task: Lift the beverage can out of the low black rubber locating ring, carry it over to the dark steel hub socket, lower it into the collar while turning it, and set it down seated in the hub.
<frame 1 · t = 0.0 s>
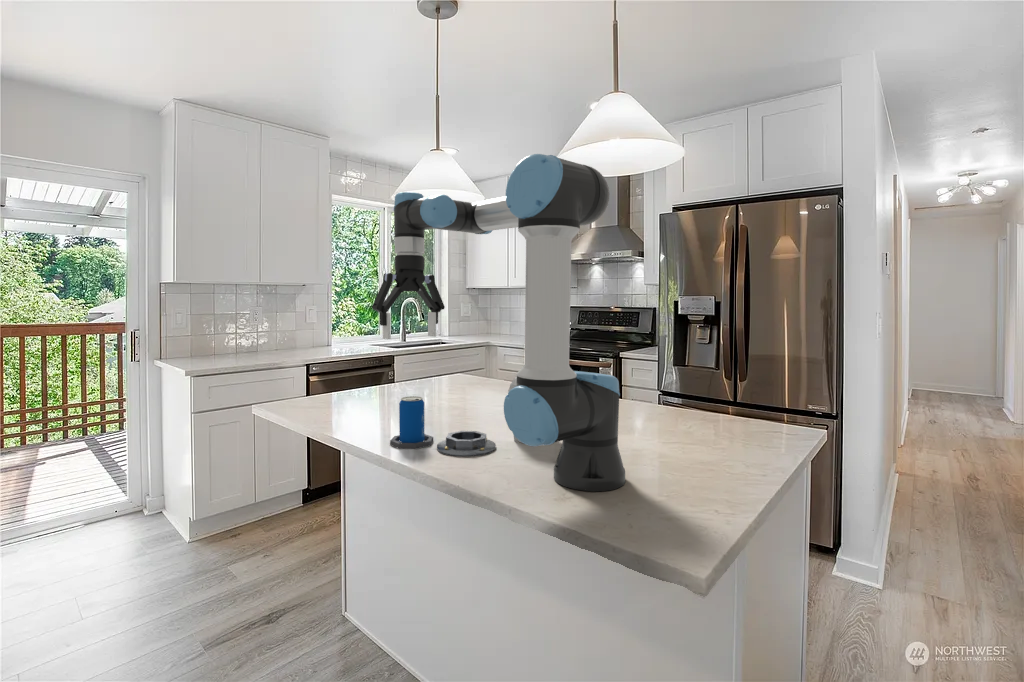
hand: (410, 337, 139), 28 cm above the countertop, fingers open, 13 cm apart
beverage can: (412, 443, 141), resting in stand ring
stand ring: (412, 443, 141), on the countertop
hub socket: (466, 447, 137), on the countertop
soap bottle: (535, 440, 146), on the countertop
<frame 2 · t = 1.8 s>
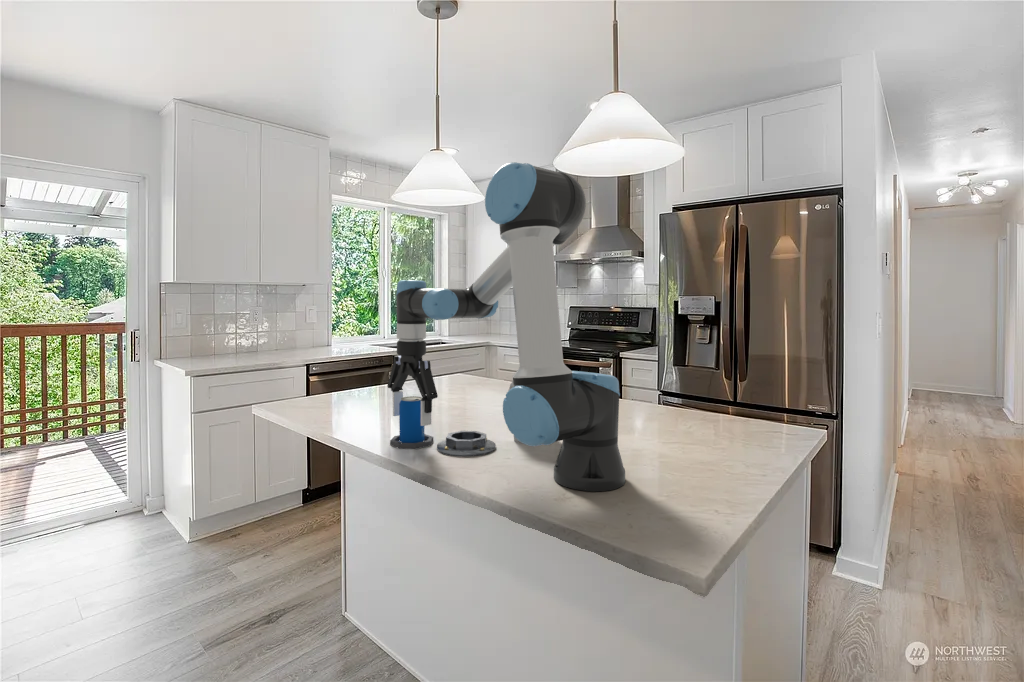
hand: (411, 420, 141), 6 cm above the countertop, fingers open, 13 cm apart
nothing on the countertop moved.
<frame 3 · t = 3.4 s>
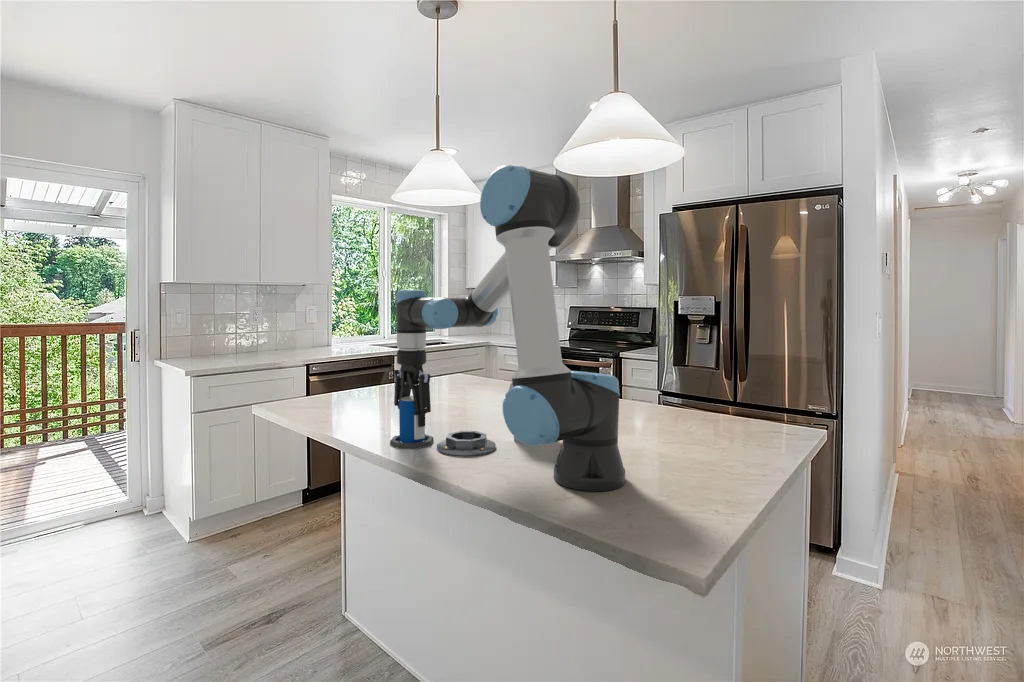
hand: (412, 435, 141), 2 cm above the countertop, fingers closed on beverage can, 6 cm apart
beverage can: (412, 443, 141), resting in stand ring, touching gripper
everything else where it was.
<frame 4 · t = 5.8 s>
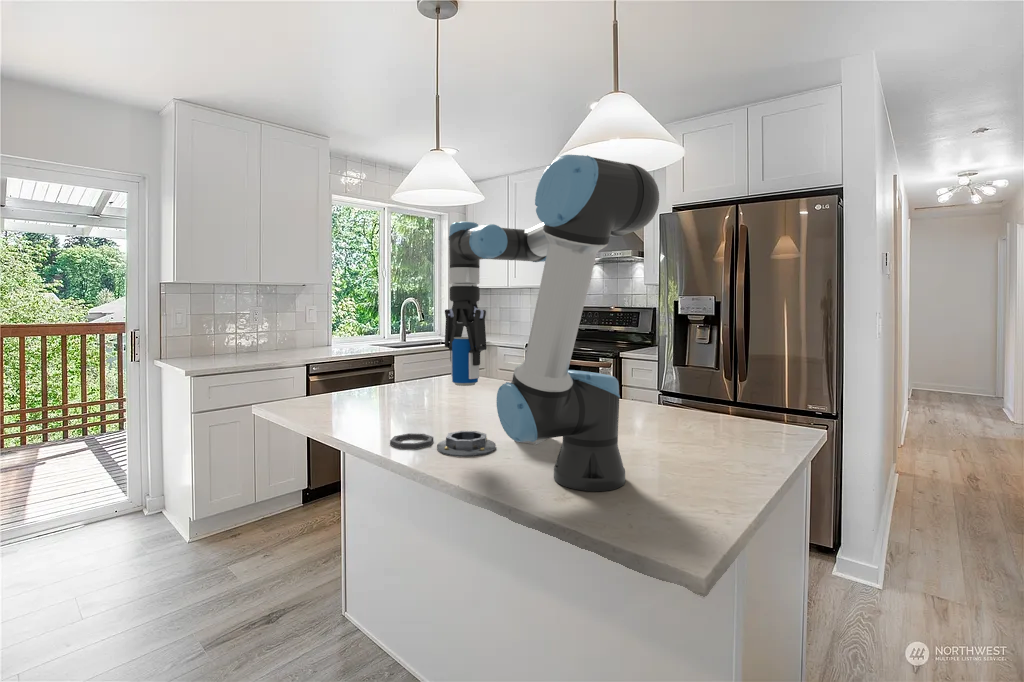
hand: (465, 376, 135), 18 cm above the countertop, fingers closed on beverage can, 6 cm apart
beverage can: (465, 385, 136), point 16 cm above the countertop, touching gripper
everything else where it was.
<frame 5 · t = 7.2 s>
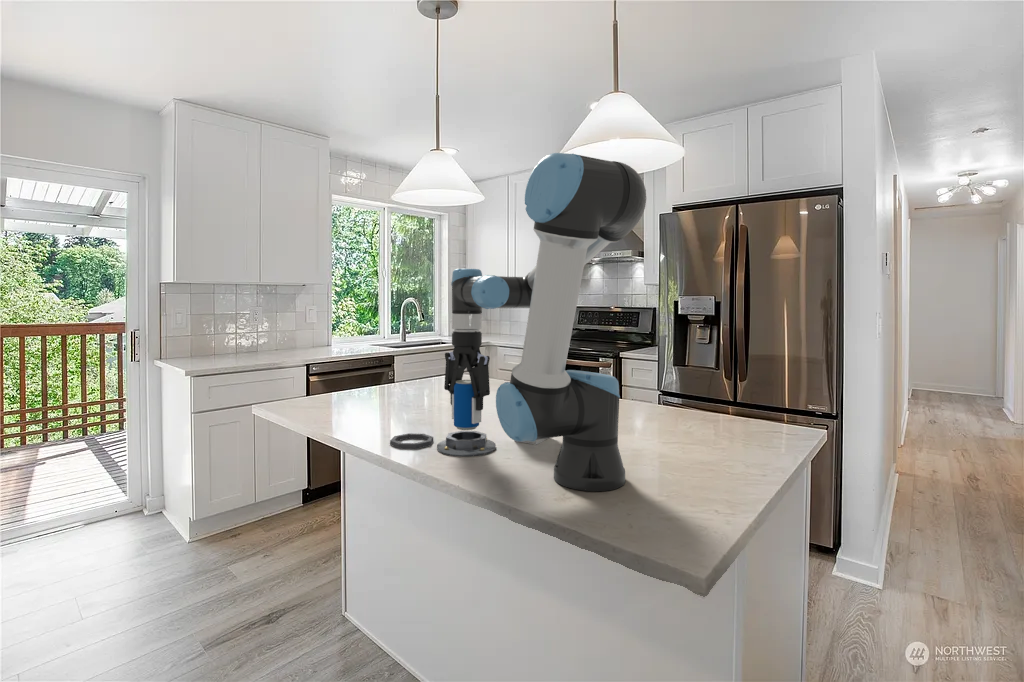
hand: (466, 420, 137), 7 cm above the countertop, fingers closed on beverage can, 6 cm apart
beverage can: (466, 428, 137), point 5 cm above the countertop, touching gripper
everything else where it was.
when the fingers open (4 cm above the countertop, at t = 8.5 s): beverage can drops 1 cm, resting on hub socket.
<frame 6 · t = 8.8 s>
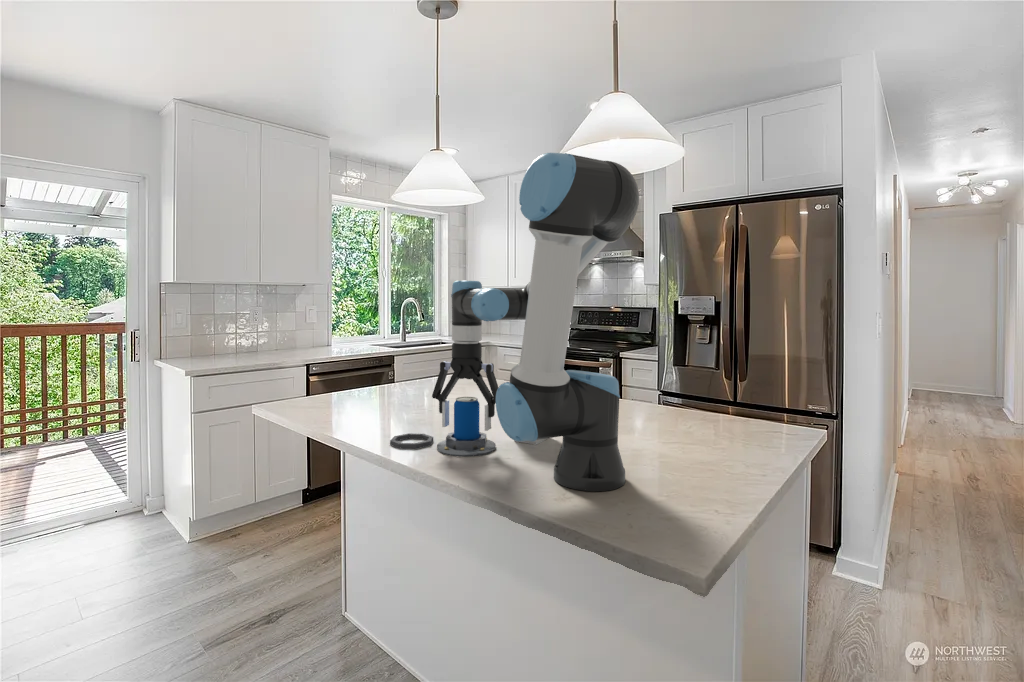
hand: (466, 427, 137), 5 cm above the countertop, fingers open, 11 cm apart
beverage can: (466, 445, 137), point 1 cm above the countertop, touching hub socket
everything else where it was.
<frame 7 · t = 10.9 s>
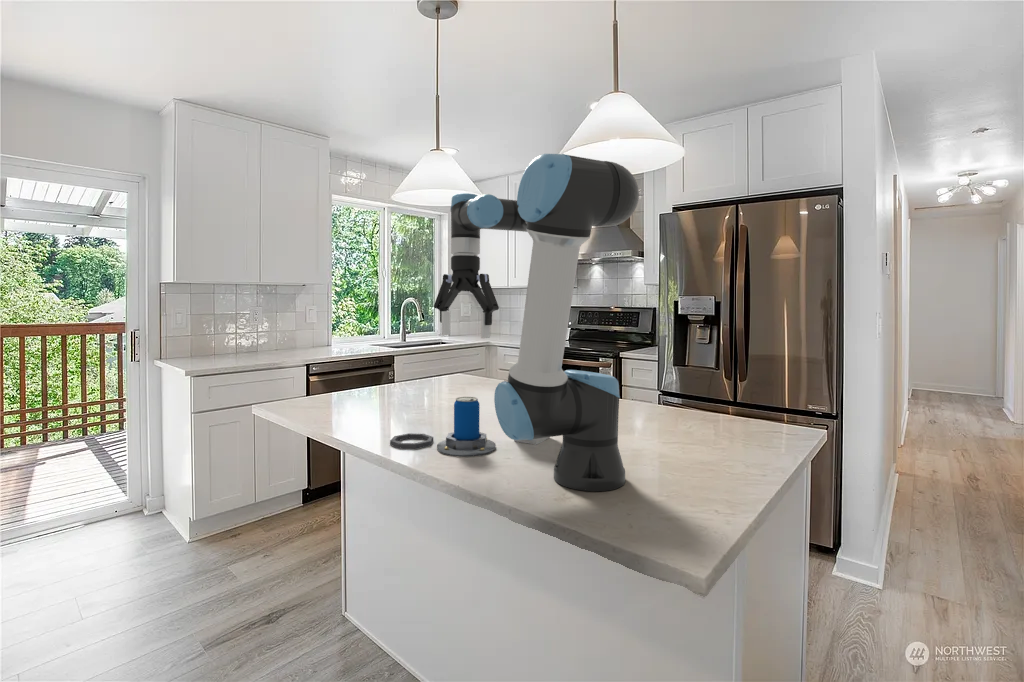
hand: (465, 336, 141), 28 cm above the countertop, fingers open, 13 cm apart
nothing on the countertop moved.
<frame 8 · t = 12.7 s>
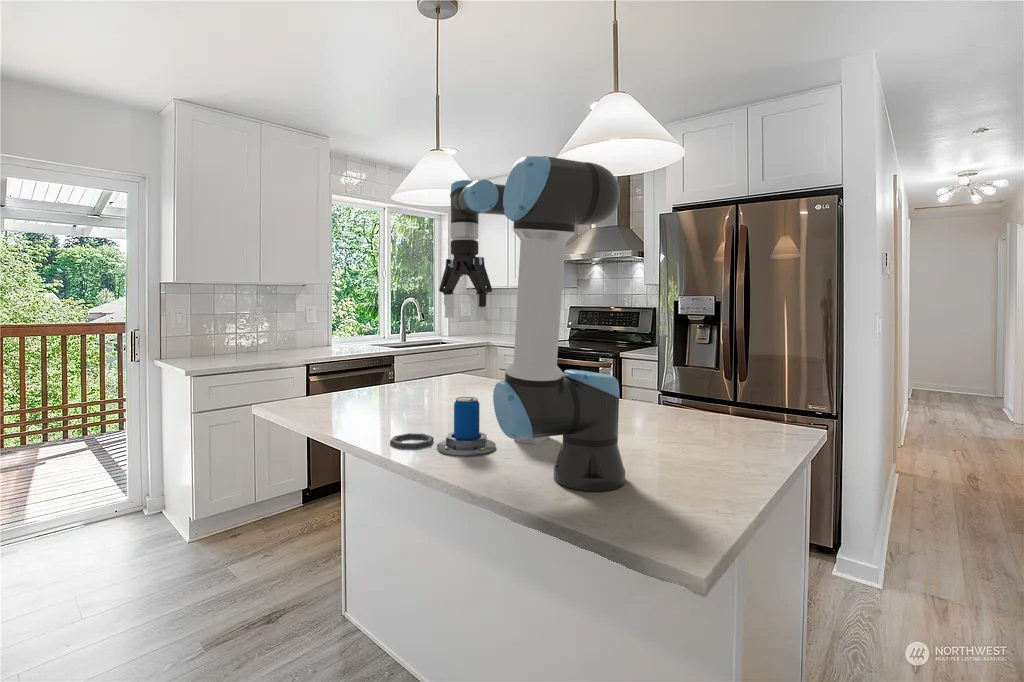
hand: (464, 318, 147), 33 cm above the countertop, fingers open, 13 cm apart
nothing on the countertop moved.
at the end: beverage can 0.1 cm off-centre on the hub socket, point 0.6 cm above the hub socket's base; beverage can tilted 0°; beverage can touching hub socket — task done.
